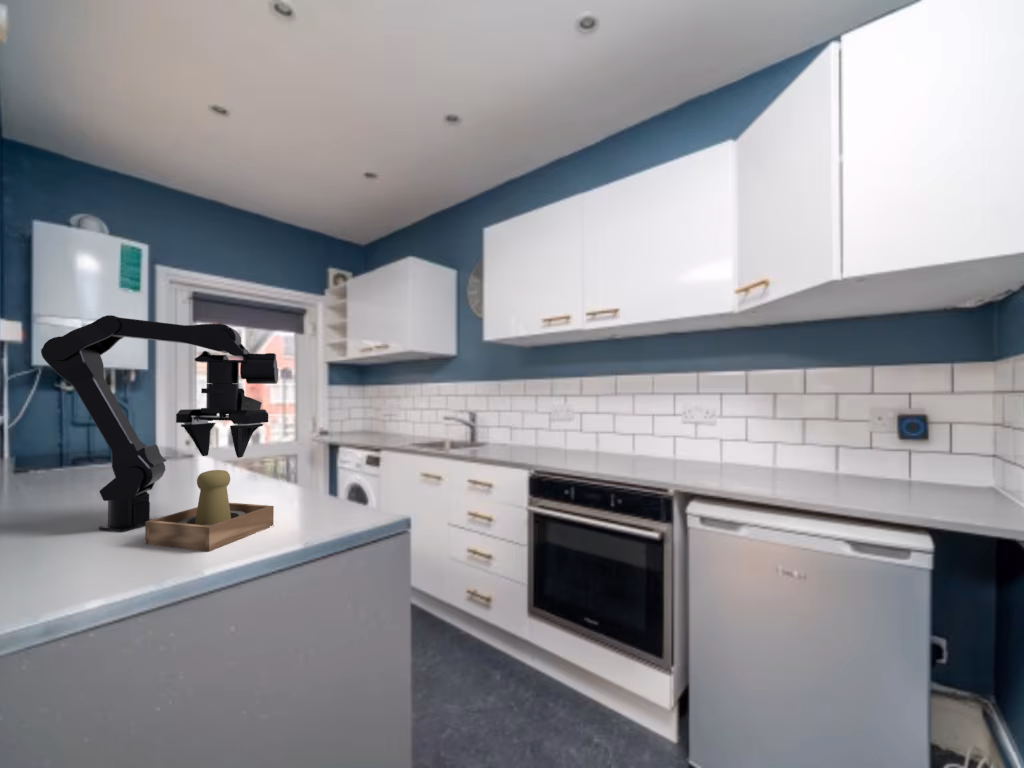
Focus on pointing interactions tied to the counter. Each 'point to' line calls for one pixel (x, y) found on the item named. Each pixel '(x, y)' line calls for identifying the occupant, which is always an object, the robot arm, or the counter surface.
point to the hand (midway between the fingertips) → (222, 456)
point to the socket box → (208, 528)
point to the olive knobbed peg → (213, 497)
